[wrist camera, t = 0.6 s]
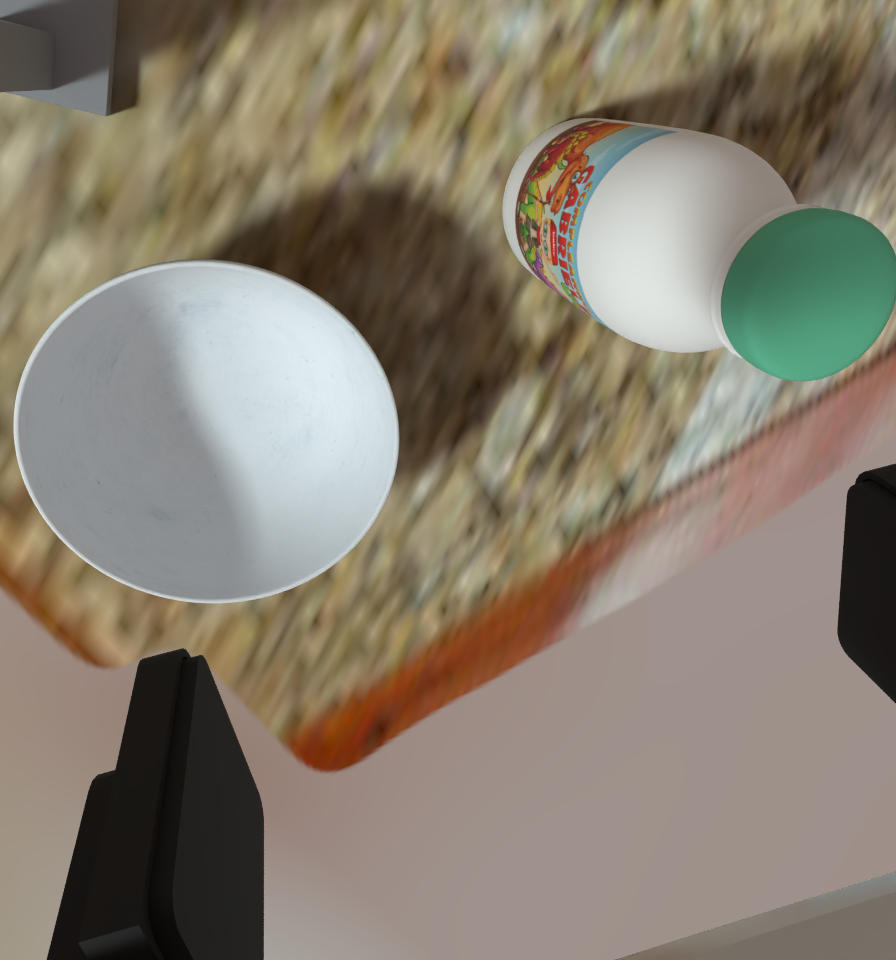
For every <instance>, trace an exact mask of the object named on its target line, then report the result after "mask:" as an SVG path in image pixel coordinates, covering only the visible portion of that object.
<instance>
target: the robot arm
mask: <svg viewBox="0 0 896 960" xmlns="http://www.w3.org/2000/svg"><path fill="white" fill-rule="evenodd" d="M838 638H839V641H840V644H841V646H842V648H843V650H844V651H845V653H846V654H847V655H848V656H849V657H850V658H851V659H852V660H853V661H854V662H855V663H856V664H857V665H858V666H859V667H860V668H861V669H862V670H863V671H864V672H865V673H866V674H867V675H868V676H869V677H870V678H871V679H872V680H873V681H874V682H875V683H876V684H877V685H878V686H879V687H880V688H881V689H882V690H883V691H884V692H885V693H886V694H887V695H888V696H889V697H890V698H891V699H892V700H893V701H894V702H895V703H896V464H892V465H889V466H885V467H881V468H877V469H873V470H869V471H865V472H863V473H861V474H860V475H859V476H858V478H857V479H856V483H855V485H853V486H851V487H850V489H849V490H848V493H847V503H846V517H845V531H844V545H843V560H842V574H841V588H840V601H839V615H838ZM263 959H264V816H263V808H262V803H261V799H260V795H259V792H258V789H257V787H256V784H255V782H254V779H253V777H252V774H251V772H250V769H249V767H248V764H247V762H246V759H245V757H244V754H243V752H242V749H241V747H240V744H239V742H238V739H237V737H236V734H235V732H234V729H233V726H232V724H231V722H230V719H229V717H228V714H227V711H226V709H225V706H224V704H223V701H222V699H221V696H220V694H219V691H218V689H217V686H216V684H215V681H214V679H213V676H212V674H211V671H210V669H209V666H208V664H207V662H206V659H205V658H204V657H203V656H202V655H199V656H195V657H190V655H189V653H188V652H187V651H186V649H183V648H182V649H179V650H175V651H171V652H167V653H163V654H159V655H156V656H152V657H148V658H144V659H142V660H140V662H139V665H138V668H137V673H136V678H135V682H134V687H133V691H132V696H131V701H130V705H129V710H128V715H127V719H126V724H125V728H124V733H123V738H122V742H121V747H120V751H119V756H118V761H117V765H116V770H114V771H110V772H107V773H103V774H99V775H97V776H96V777H95V778H94V779H93V781H92V783H91V786H90V789H89V791H88V795H87V799H86V803H85V808H84V811H83V816H82V819H81V824H80V828H79V832H78V836H77V840H76V844H75V848H74V852H73V856H72V860H71V864H70V868H69V872H68V876H67V880H66V884H65V888H64V892H63V896H62V900H61V904H60V908H59V912H58V916H57V921H56V925H55V928H54V933H53V937H52V941H51V945H50V949H49V953H48V957H47V960H263ZM616 960H896V872H893V873H889V874H886V875H883V876H880V877H877V878H874V879H870V880H867V881H864V882H861V883H858V884H854V885H851V886H848V887H845V888H841V889H838V890H835V891H832V892H829V893H826V894H822V895H819V896H816V897H813V898H809V899H807V900H803V901H800V902H797V903H793V904H791V905H787V906H784V907H781V908H777V909H774V910H771V911H768V912H765V913H762V914H758V915H755V916H752V917H749V918H746V919H742V920H739V921H736V922H733V923H730V924H727V925H723V926H720V927H717V928H714V929H711V930H707V931H704V932H701V933H698V934H695V935H692V936H688V937H686V938H682V939H679V940H676V941H672V942H670V943H666V944H663V945H660V946H657V947H654V948H651V949H648V950H645V951H641V952H639V953H635V954H632V955H629V956H626V957H623V958H619V959H616Z"/></svg>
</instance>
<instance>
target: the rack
mask: <svg viewBox="0 0 896 960" xmlns="http://www.w3.org/2000/svg"><path fill="white" fill-rule="evenodd" d="M118 6H119V0H0V92H7V93H11V94H15V95H19V96H23V97H28V98H32V99H36V100H40V101H44V102H48V103H53V104H57V105H61V106H65V107H69V108H74V109H78V110H82V111H86V112H90V113H95V114H99V115H103V116H109V115H111V104H112V90H113V76H114V62H115V48H116V34H117V20H118Z"/></svg>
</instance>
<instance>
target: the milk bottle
mask: <svg viewBox="0 0 896 960" xmlns="http://www.w3.org/2000/svg"><path fill="white" fill-rule="evenodd" d="M503 223H504V229H505V233H506V236H507V239H508V242H509V244H510V246H511V248H512V251H513V252H514V254H515V255H516V257H517V258H518V260H519V261H520V262H521V263H522V264H523V266H524V267H525V268H526V269H528V270H529V271H530V272H531V273H532V274H533V275H534V276H536V277H537V278H538V279H539V280H541V281H542V282H544V283H545V284H546V285H548V286H549V287H550V288H552V289H553V290H554V291H556V292H557V293H559V294H560V295H561V296H563V297H564V298H566V299H567V300H568V301H570V302H571V303H573V304H574V305H575V306H577V307H578V308H580V309H581V310H583V311H584V312H586V313H587V314H588V315H590V316H591V317H593V318H594V319H596V320H597V321H599V322H600V323H602V324H603V325H605V326H606V327H608V328H610V329H611V330H613V331H615V332H616V333H618V334H620V335H621V336H623V337H625V338H627V339H629V340H631V341H633V342H636V343H639V344H641V345H644V346H647V347H650V348H653V349H657V350H663V351H670V352H682V353H689V352H703V351H708V350H714V349H718V348H722V347H725V346H726V348H728V349H729V350H730V351H731V352H732V353H734V354H735V355H736V356H738V357H740V358H742V359H745V360H746V361H748V362H749V363H751V364H752V365H754V366H755V367H756V368H758V369H760V370H762V371H764V372H766V373H768V374H770V375H772V376H775V377H777V378H781V379H785V380H792V381H812V380H818V379H821V378H825V377H828V376H830V375H833V374H835V373H837V372H839V371H841V370H843V369H845V368H846V367H848V366H849V365H851V364H852V363H853V362H855V361H856V360H857V359H858V358H860V357H861V356H862V355H863V354H864V353H865V352H866V351H867V350H868V349H869V348H870V347H871V346H872V344H873V343H874V342H875V341H876V339H877V338H878V336H879V335H880V334H881V332H882V330H883V329H884V327H885V325H886V323H887V321H888V319H889V317H890V315H891V312H892V310H893V307H894V304H895V300H896V256H895V253H894V250H893V248H892V246H891V244H890V242H889V241H888V239H887V238H886V237H885V236H884V234H883V233H882V232H881V231H880V230H878V229H877V228H876V227H875V226H874V225H873V224H871V223H870V222H868V221H867V220H865V219H863V218H861V217H858V216H855V215H852V214H848V213H845V212H842V211H837V210H831V209H825V208H821V207H818V206H814V205H809V204H797V203H796V201H795V199H794V197H793V195H792V193H791V191H790V190H789V188H788V186H787V185H786V183H785V182H784V180H783V179H782V178H781V176H780V175H779V174H778V173H777V172H776V171H775V170H774V169H773V168H772V167H771V165H769V164H768V163H767V162H766V161H765V160H764V159H762V158H761V157H760V156H758V155H757V154H755V153H754V152H752V151H751V150H749V149H748V148H746V147H744V146H742V145H740V144H738V143H735V142H733V141H731V140H728V139H726V138H723V137H720V136H716V135H711V134H707V133H702V132H698V131H693V130H688V129H682V128H675V127H667V126H660V125H653V124H645V123H636V122H628V121H619V120H610V119H600V118H580V119H573V120H569V121H565V122H562V123H560V124H557V125H555V126H553V127H551V128H549V129H548V130H546V131H544V132H543V133H542V134H540V135H539V136H538V137H536V138H535V139H534V140H533V141H532V142H531V143H530V144H529V145H528V146H527V147H526V148H525V150H524V151H523V152H522V154H521V155H520V156H519V158H518V160H517V161H516V163H515V165H514V167H513V169H512V171H511V173H510V175H509V178H508V181H507V184H506V188H505V192H504V198H503Z"/></svg>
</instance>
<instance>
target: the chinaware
mask: <svg viewBox="0 0 896 960" xmlns="http://www.w3.org/2000/svg"><path fill="white" fill-rule="evenodd" d="M14 441H15V449H16V455H17V459H18V464H19V467H20V471H21V474H22V477H23V480H24V482H25V485H26V487H27V490H28V492H29V494H30V496H31V498H32V500H33V502H34V504H35V505H36V507H37V509H38V510H39V512H40V513H41V515H42V516H43V518H44V519H45V521H46V522H47V523H48V525H49V526H50V527H51V529H52V530H53V531H54V532H55V533H56V534H57V536H58V537H59V538H60V539H61V540H62V541H63V542H64V543H65V544H66V545H67V546H68V547H69V548H70V549H71V550H73V551H74V552H75V553H76V554H77V555H78V556H80V557H81V558H82V559H83V560H85V561H86V562H87V563H89V564H90V565H92V566H93V567H95V568H96V569H98V570H99V571H101V572H102V573H104V574H106V575H108V576H109V577H111V578H113V579H115V580H117V581H119V582H121V583H123V584H125V585H128V586H130V587H133V588H135V589H138V590H140V591H143V592H146V593H149V594H153V595H156V596H160V597H164V598H169V599H174V600H180V601H187V602H196V603H231V602H241V601H248V600H254V599H258V598H263V597H267V596H271V595H274V594H277V593H280V592H283V591H286V590H289V589H291V588H294V587H296V586H298V585H301V584H303V583H305V582H307V581H309V580H311V579H312V578H314V577H316V576H318V575H319V574H321V573H323V572H324V571H326V570H327V569H329V568H330V567H331V566H333V565H334V564H336V563H337V562H338V561H339V560H341V559H342V558H343V557H344V556H345V555H346V554H347V553H349V552H350V551H351V550H352V549H353V548H354V547H355V546H356V545H357V543H358V542H359V541H360V540H361V539H362V538H363V537H364V535H365V534H366V533H367V532H368V530H369V529H370V527H371V526H372V525H373V523H374V522H375V520H376V518H377V517H378V515H379V513H380V512H381V510H382V508H383V506H384V504H385V502H386V499H387V497H388V495H389V492H390V489H391V486H392V483H393V480H394V476H395V472H396V468H397V462H398V454H399V422H398V414H397V409H396V404H395V400H394V396H393V393H392V389H391V386H390V384H389V381H388V378H387V376H386V374H385V372H384V369H383V367H382V365H381V364H380V362H379V360H378V358H377V356H376V355H375V353H374V351H373V350H372V348H371V347H370V345H369V344H368V343H367V341H366V340H365V338H364V337H363V336H362V335H361V333H360V332H359V331H358V330H357V329H356V328H355V326H354V325H353V324H352V323H351V322H350V321H349V320H348V319H347V318H346V317H345V316H344V315H343V314H342V313H341V312H339V311H338V310H337V309H336V308H335V307H334V306H332V305H331V304H330V303H328V302H327V301H326V300H325V299H323V298H322V297H320V296H319V295H317V294H316V293H314V292H313V291H311V290H309V289H308V288H306V287H304V286H303V285H301V284H299V283H297V282H295V281H293V280H291V279H289V278H287V277H284V276H282V275H280V274H277V273H274V272H272V271H269V270H266V269H263V268H259V267H256V266H252V265H247V264H243V263H238V262H232V261H224V260H211V259H191V260H178V261H170V262H164V263H159V264H154V265H150V266H146V267H142V268H139V269H136V270H133V271H130V272H127V273H125V274H122V275H120V276H117V277H115V278H113V279H111V280H109V281H107V282H105V283H103V284H101V285H99V286H98V287H96V288H94V289H93V290H91V291H89V292H88V293H86V294H85V295H84V296H82V297H81V298H79V299H78V300H77V301H76V302H74V303H73V304H72V305H71V306H70V307H68V308H67V309H66V310H65V311H64V312H63V313H62V314H61V315H60V316H59V317H58V318H57V319H56V320H55V321H54V322H53V324H52V325H51V326H50V327H49V328H48V330H47V331H46V332H45V333H44V335H43V336H42V338H41V339H40V341H39V342H38V344H37V345H36V347H35V349H34V350H33V352H32V354H31V356H30V358H29V360H28V362H27V364H26V367H25V369H24V372H23V374H22V377H21V381H20V384H19V388H18V392H17V397H16V402H15V410H14Z"/></svg>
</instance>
